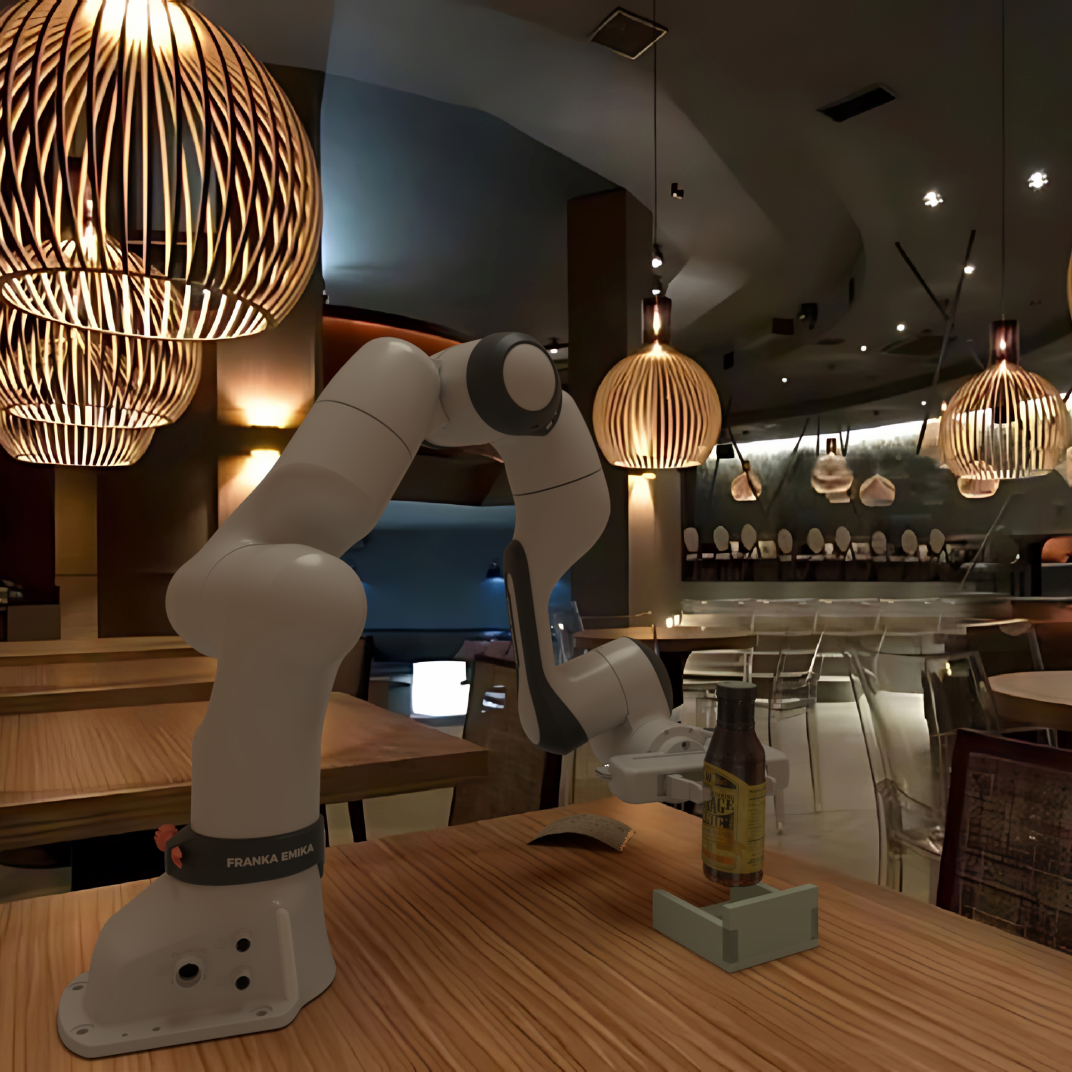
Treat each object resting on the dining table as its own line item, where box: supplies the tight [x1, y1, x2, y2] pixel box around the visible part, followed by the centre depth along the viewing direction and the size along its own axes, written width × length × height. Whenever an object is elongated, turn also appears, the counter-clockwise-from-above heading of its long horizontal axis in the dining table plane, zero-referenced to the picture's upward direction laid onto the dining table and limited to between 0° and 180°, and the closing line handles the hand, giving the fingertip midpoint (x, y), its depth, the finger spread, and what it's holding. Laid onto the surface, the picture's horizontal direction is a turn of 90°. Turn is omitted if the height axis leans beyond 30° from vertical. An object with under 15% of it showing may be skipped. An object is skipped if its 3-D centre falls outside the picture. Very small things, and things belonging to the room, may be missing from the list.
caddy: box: [652, 881, 819, 974], centre depth 88 cm, size 12×12×6 cm
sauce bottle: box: [700, 680, 767, 888], centre depth 88 cm, size 7×6×20 cm
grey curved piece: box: [526, 813, 633, 853], centre depth 119 cm, size 14×10×3 cm
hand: (738, 791), depth 87 cm, fingers closed on sauce bottle, 6 cm apart
